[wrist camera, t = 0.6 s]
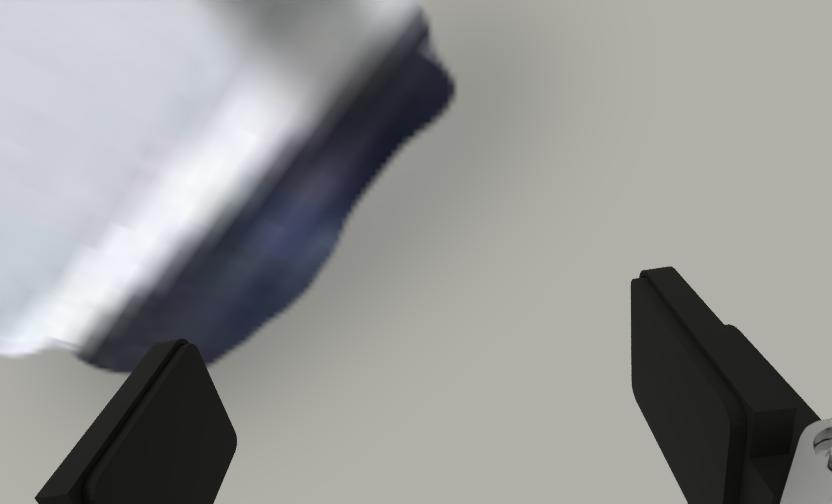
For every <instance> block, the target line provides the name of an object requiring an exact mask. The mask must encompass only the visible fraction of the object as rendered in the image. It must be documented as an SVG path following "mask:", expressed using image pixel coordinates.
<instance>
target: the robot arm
mask: <svg viewBox="0 0 832 504" xmlns="http://www.w3.org/2000/svg"><path fill="white" fill-rule="evenodd" d="M631 365H632V388H633V393H634V396H635V399H636V401H637V403H638V405H639V407H640V409H641V411H642V413H643V415H644V417H645V419H646V421H647V423H648V425H649V427H650V429H651V431H652V433H653V435H654V437H655V439H656V441H657V443H658V445H659V447H660V449H661V451H662V453H663V455H664V457H665V459H666V461H667V463H668V464H669V467H670V468H671V471H672V472H673V474H674V476H675V478H676V480H677V482H678V484H679V486H680V488H681V490H682V492H683V494H684V496H685V498H686V500H687V502H688V504H832V418H831V419H825V420H821V419H820V418H819V417H818V416H817V415H816V413H815V412H814V411H813V410H812V409H811V408H810V407H809V406H808V405H807V404H806V403H805V402H804V400H803V399H802V398H801V397H800V396H799V395H798V394H797V393H796V392H795V391H794V389H793V388H792V387H791V386H790V385H789V384H788V383H787V382H786V381H785V380H784V379H783V377H782V376H781V375H780V374H779V373H778V372H777V371H776V370H775V369H774V368H773V366H772V365H771V364H770V363H769V362H768V361H767V360H766V359H765V358H764V357H763V356H762V355H761V353H760V352H759V351H758V350H757V349H756V348H755V347H754V346H753V345H752V344H751V342H750V341H748V339H747V338H746V337H745V336H744V335H743V334H742V333H741V332H740V331H739V330H738V329H737V328H736V327H735V326H733V325H729V324H728V325H724V324H723V323H722V322H721V321H720V320H719V318H718V317H717V316H716V315H715V314H714V313H713V312H712V311H711V309H710V308H709V307H708V306H707V305H706V304H705V303H704V301H703V300H702V299H701V298H700V297H699V296H698V295H697V294H696V292H695V291H694V290H693V289H692V288H691V287H690V286H689V284H688V283H687V282H686V281H685V280H684V279H683V278H682V277H681V276H680V274H679V273H678V272H677V271H676V270H675V269H674V268H673V267H663V268H656V269H649V270H643V271H641V273H640V277H639V278H637V279H633V280H632V281H631ZM236 446H237V437H236V433H235V430H234V428H233V426H232V424H231V421H230V419H229V417H228V415H227V413H226V411H225V408H224V406H223V404H222V402H221V399H220V397H219V395H218V393H217V390H216V388H215V386H214V384H213V382H212V379H211V377H210V375H209V373H208V370H207V368H206V366H205V364H204V362H203V359H202V357H201V355H200V353H199V351H198V349H197V347H196V346H195V345H194V344H189V342H188V341H187V340H185V339H176V340H169V341H162V342H157V343H155V344H154V345H153V346H152V347H151V349H150V350H149V351H148V353H147V354H146V355H145V356H144V358H143V359H142V360H141V362H140V363H139V364H138V365H137V367H136V368H135V369H134V371H133V372H132V373H131V375H130V376H129V377H128V378H127V380H126V381H125V382H124V384H123V385H122V386H121V387H120V389H119V390H118V391H117V393H116V394H115V395H114V396H113V398H112V399H111V400H110V402H109V403H108V404H107V405H106V407H105V408H104V409H103V411H102V412H101V413H100V414H99V416H98V417H97V418H96V420H95V421H94V422H93V424H92V425H91V426H90V427H89V429H88V430H87V431H86V432H85V434H84V435H83V436H82V438H81V439H80V440H79V442H78V443H77V444H76V446H75V447H74V448H73V449H72V450H71V452H70V453H69V454H68V456H67V457H66V458H65V460H64V461H63V462H62V464H61V465H60V466H59V467H58V469H57V470H56V471H55V472H54V474H53V475H52V476H51V478H50V479H49V480H48V481H47V483H46V484H45V485H44V487H43V488H42V489H41V490H40V492H39V493H38V494H37V496H36V497H35V499H36V501H37V502H38V503H39V504H213V503H214V501H215V498H216V496H217V493H218V491H219V489H220V486H221V484H222V482H223V479H224V477H225V474H226V472H227V469H228V467H229V465H230V462H231V460H232V458H233V455H234V453H235V450H236Z"/></svg>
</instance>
